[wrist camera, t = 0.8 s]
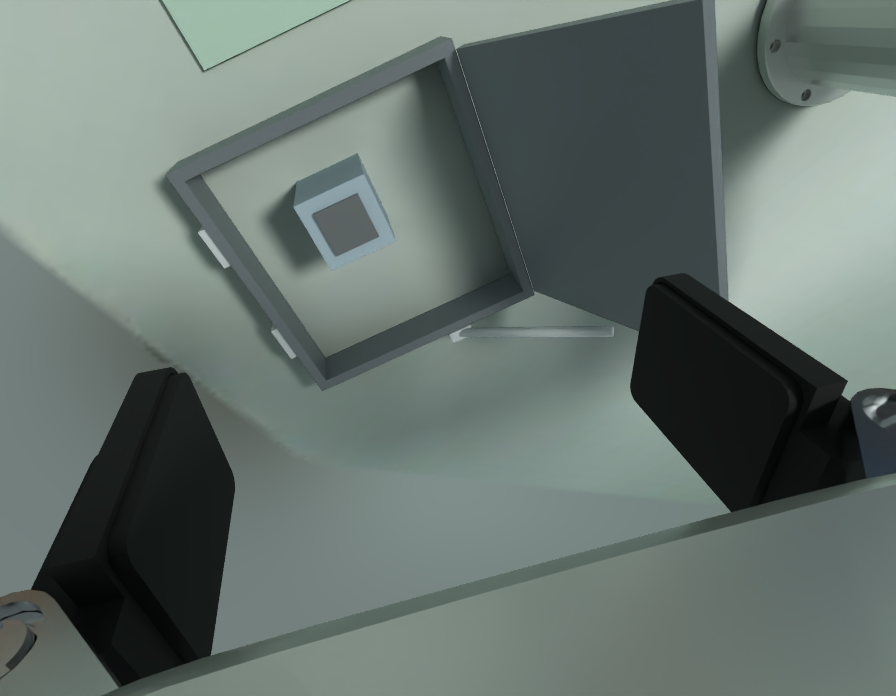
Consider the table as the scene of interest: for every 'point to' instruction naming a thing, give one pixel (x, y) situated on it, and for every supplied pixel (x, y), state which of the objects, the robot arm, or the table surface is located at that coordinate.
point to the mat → (238, 23)
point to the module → (343, 212)
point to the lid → (608, 151)
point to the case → (414, 331)
